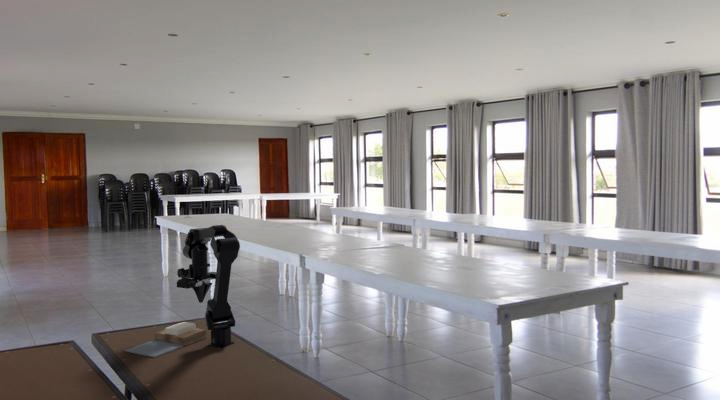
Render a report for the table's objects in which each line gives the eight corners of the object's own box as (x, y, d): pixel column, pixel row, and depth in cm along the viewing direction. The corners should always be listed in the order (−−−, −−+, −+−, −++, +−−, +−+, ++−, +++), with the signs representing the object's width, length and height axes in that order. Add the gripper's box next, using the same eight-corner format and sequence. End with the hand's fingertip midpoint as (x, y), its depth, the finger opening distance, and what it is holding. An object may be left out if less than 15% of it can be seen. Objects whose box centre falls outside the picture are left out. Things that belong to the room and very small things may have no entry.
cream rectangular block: (195, 329, 211) (195, 323, 211) (177, 335, 203) (177, 330, 203) (183, 327, 214) (183, 321, 213) (165, 333, 206) (164, 327, 206)
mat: (183, 346, 200) (183, 345, 200) (154, 357, 189) (154, 356, 189) (154, 341, 207) (154, 339, 207) (125, 351, 195) (125, 350, 195)
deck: (206, 337, 210) (205, 329, 210) (183, 346, 200) (183, 338, 200) (178, 332, 216) (177, 325, 216) (155, 340, 207) (155, 332, 207)
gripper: (201, 256, 228) (202, 295, 229) (165, 263, 211) (166, 305, 212) (222, 258, 223) (223, 298, 224) (187, 266, 206) (188, 308, 207)
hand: (200, 302), depth 217 cm, fingers closed
